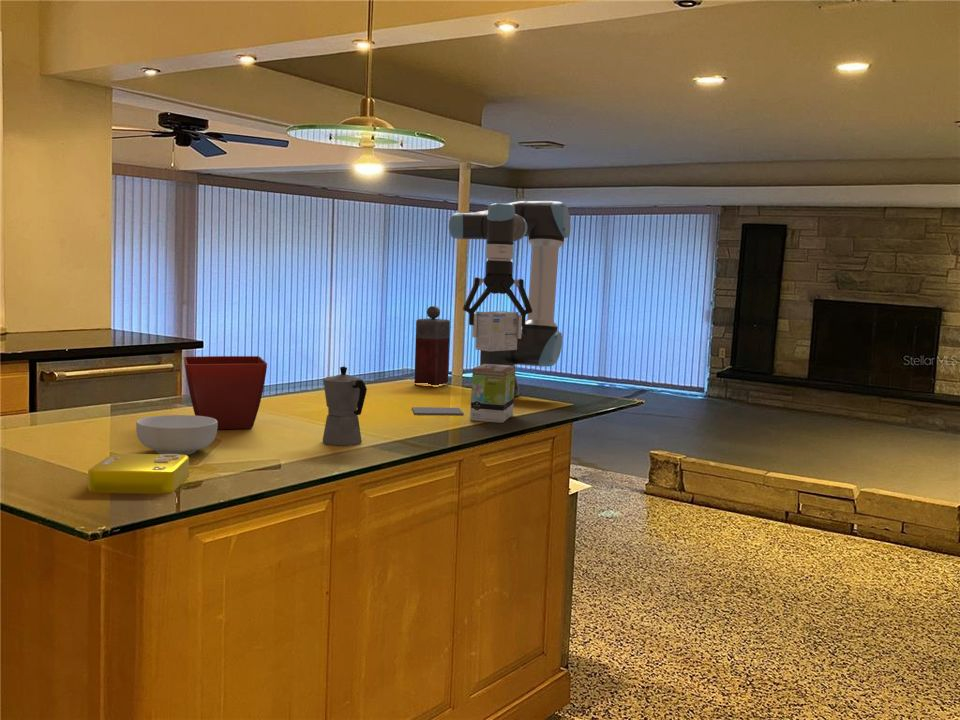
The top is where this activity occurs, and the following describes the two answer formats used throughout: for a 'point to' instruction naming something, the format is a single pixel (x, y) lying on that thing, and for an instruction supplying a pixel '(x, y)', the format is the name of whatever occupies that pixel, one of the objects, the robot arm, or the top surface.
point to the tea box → (492, 393)
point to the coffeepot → (343, 409)
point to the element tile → (139, 473)
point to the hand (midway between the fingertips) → (496, 337)
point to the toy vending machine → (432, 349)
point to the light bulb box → (496, 331)
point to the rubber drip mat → (436, 411)
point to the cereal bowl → (176, 433)
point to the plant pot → (226, 388)
